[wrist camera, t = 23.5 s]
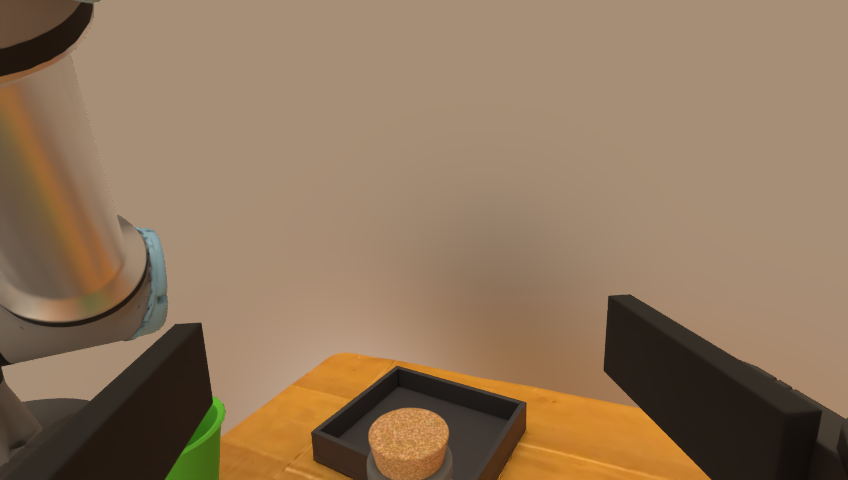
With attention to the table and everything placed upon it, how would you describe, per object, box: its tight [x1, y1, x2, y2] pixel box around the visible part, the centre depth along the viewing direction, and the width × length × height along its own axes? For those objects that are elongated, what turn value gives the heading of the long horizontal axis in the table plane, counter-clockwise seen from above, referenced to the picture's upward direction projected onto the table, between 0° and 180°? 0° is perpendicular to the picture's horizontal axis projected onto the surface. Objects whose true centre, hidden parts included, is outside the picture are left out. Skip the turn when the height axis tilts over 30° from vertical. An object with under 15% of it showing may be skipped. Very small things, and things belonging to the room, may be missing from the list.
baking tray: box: [311, 366, 526, 480], centre depth 47 cm, size 17×15×3 cm
